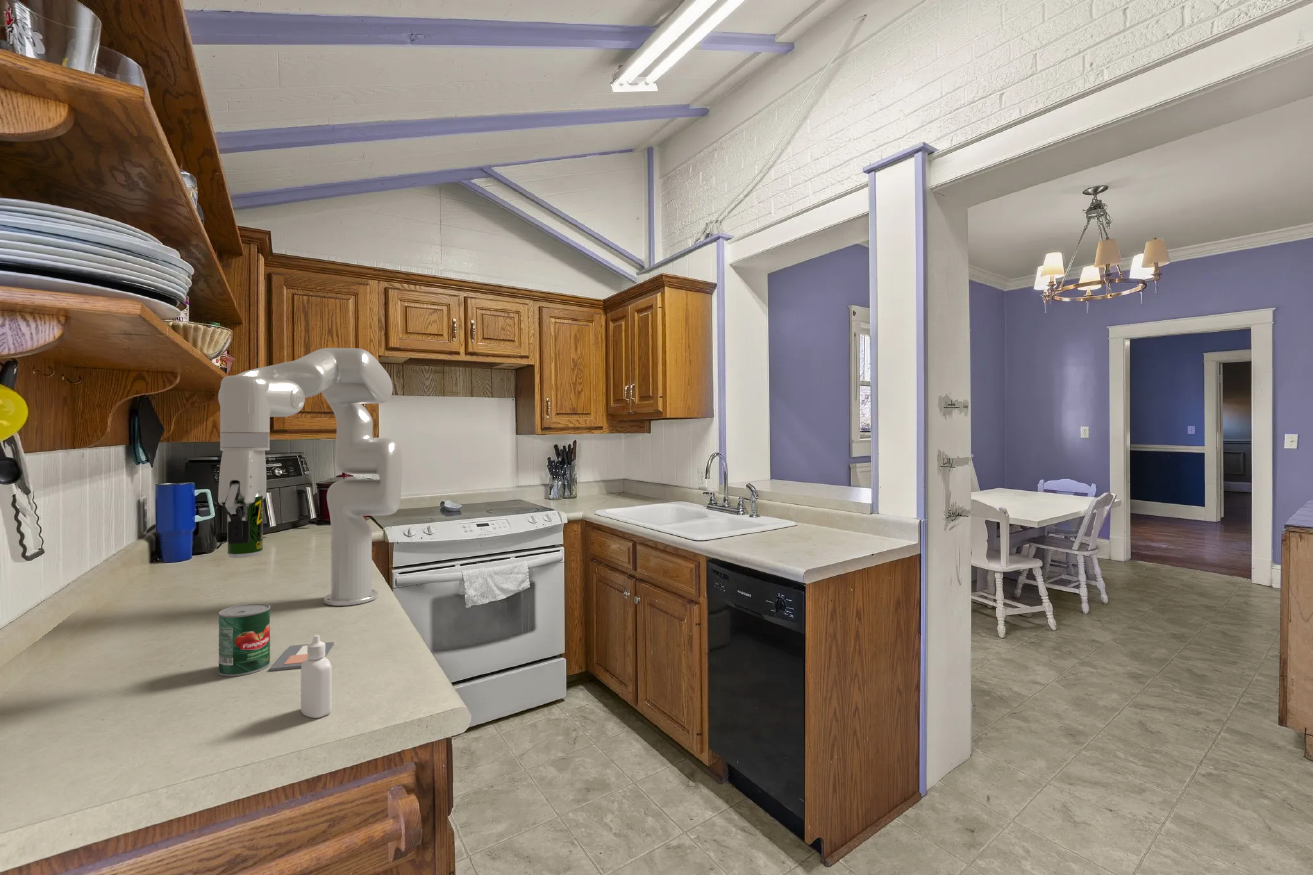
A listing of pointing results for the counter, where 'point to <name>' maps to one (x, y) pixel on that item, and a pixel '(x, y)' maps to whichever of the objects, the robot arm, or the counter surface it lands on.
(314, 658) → the eye dropper bottle
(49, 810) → the counter surface
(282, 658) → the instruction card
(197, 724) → the counter surface
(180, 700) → the counter surface
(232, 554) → the beer can
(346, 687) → the counter surface
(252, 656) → the canned tomato
